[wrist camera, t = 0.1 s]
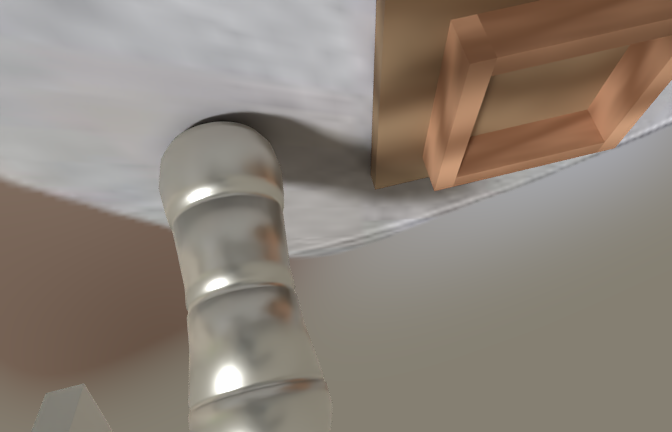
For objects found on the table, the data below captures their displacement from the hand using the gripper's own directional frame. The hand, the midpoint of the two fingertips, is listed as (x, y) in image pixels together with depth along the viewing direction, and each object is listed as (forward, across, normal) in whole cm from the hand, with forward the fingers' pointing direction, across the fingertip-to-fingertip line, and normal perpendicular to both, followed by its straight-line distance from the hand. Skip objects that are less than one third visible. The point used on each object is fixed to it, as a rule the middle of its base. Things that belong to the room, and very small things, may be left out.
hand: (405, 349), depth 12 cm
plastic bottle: (+20, -5, -2) cm, 21 cm away
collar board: (+20, +13, -1) cm, 23 cm away
